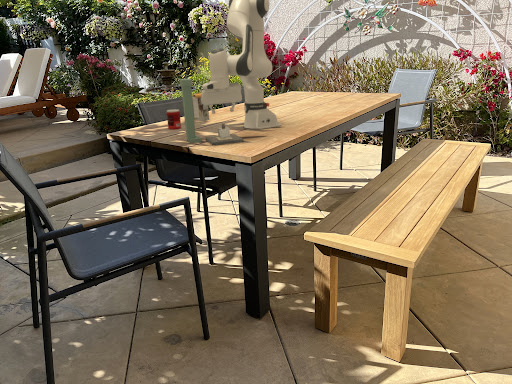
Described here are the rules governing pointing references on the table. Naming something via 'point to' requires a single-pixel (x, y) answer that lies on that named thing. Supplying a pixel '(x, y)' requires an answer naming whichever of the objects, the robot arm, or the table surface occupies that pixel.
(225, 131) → the housing
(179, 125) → the canned food
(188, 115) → the frame
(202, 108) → the coffee box
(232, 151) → the table surface
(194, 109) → the ram
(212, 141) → the plate
